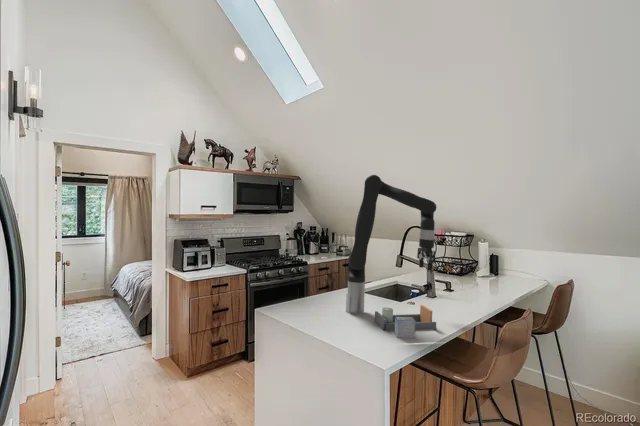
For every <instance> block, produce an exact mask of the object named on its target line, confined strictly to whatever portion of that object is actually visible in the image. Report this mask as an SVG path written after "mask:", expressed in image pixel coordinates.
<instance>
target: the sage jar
mask: <svg viewBox="0 0 640 426" xmlns="http://www.w3.org/2000/svg"><path fill="white" fill-rule="evenodd" d="M381 315H382V316H383V317H384V318H385V319H386V320H387V323H393V315H394V308H392V307H382V313H381Z"/></svg>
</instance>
